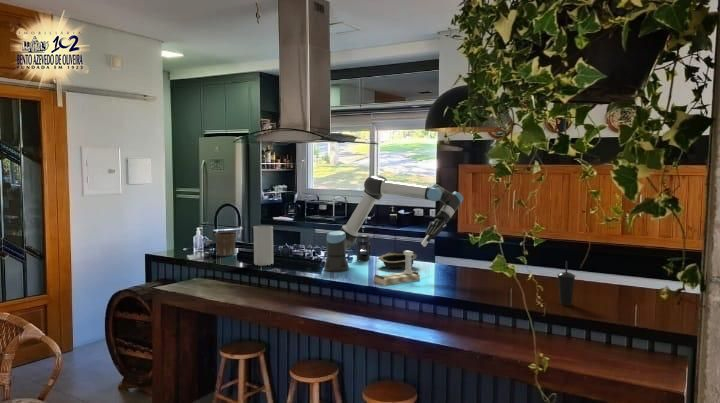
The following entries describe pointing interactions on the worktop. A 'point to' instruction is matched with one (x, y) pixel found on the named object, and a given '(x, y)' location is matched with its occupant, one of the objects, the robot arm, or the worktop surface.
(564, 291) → the drinking cup
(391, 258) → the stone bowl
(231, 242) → the plant pot
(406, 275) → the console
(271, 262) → the cylinder vase
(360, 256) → the french press
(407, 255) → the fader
